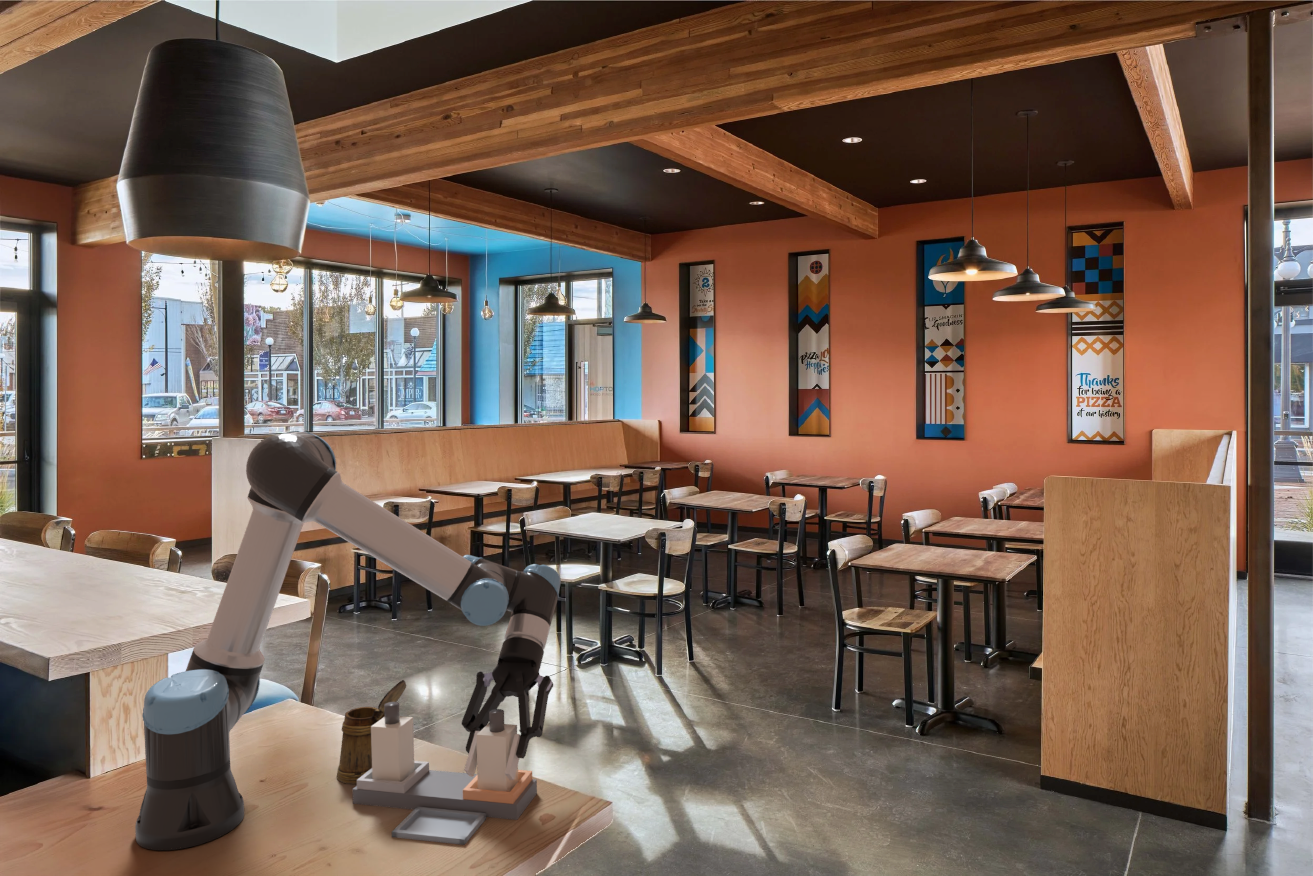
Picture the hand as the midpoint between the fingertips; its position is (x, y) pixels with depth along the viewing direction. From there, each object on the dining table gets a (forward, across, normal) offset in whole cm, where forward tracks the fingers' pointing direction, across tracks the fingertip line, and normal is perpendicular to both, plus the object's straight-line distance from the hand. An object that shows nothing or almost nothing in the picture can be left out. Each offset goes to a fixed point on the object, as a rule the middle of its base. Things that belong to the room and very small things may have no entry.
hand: (489, 775), depth 134 cm
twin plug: (0, +19, -5) cm, 20 cm away
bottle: (0, 0, -5) cm, 5 cm away
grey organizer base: (+2, +10, -8) cm, 12 cm away
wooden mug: (-2, +27, -13) cm, 30 cm away
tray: (+9, +6, -1) cm, 11 cm away
